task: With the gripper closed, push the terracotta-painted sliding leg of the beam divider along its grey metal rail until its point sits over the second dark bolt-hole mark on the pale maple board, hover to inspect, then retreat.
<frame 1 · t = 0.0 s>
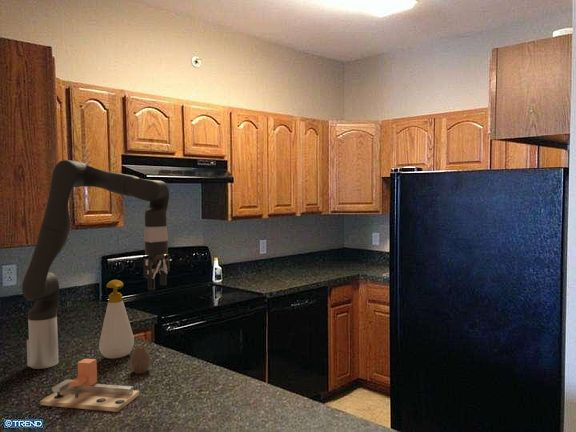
hand: (157, 287, 166), 29 cm above the worktop, fingers open, 8 cm apart
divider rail: (91, 390, 146), on the hole board, point 3 cm above the worktop
soap bottle: (117, 357, 184), on the worktop
hole board: (91, 399, 146), on the worktop
vase: (140, 372, 169), on the worktop
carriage: (82, 378, 147), point 6 cm above the worktop, slide at 6.0 cm
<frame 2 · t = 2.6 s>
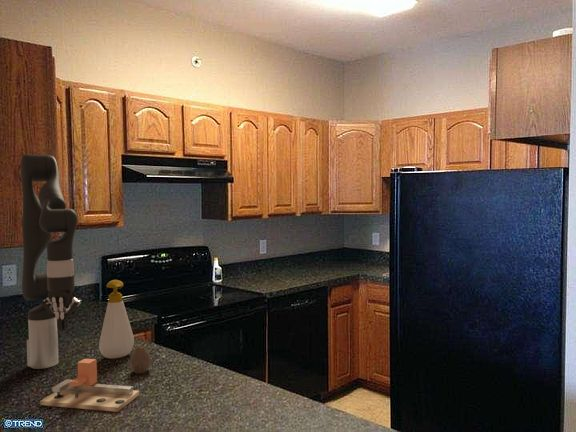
hand: (62, 330, 150), 19 cm above the worktop, fingers closed
nothing on the worktop moved.
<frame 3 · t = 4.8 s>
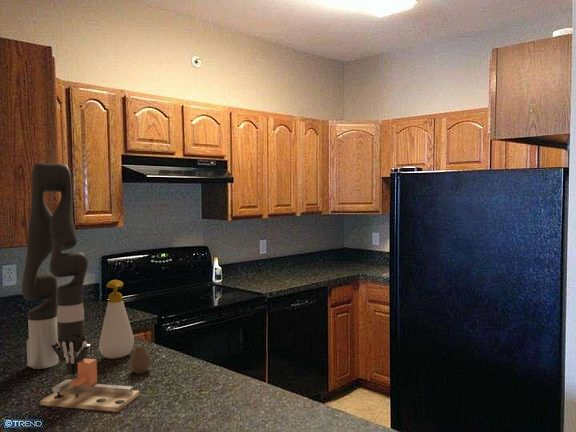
hand: (72, 374, 150), 6 cm above the worktop, fingers closed
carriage: (82, 378, 147), point 6 cm above the worktop, slide at 6.0 cm, touching gripper
everything else where it was.
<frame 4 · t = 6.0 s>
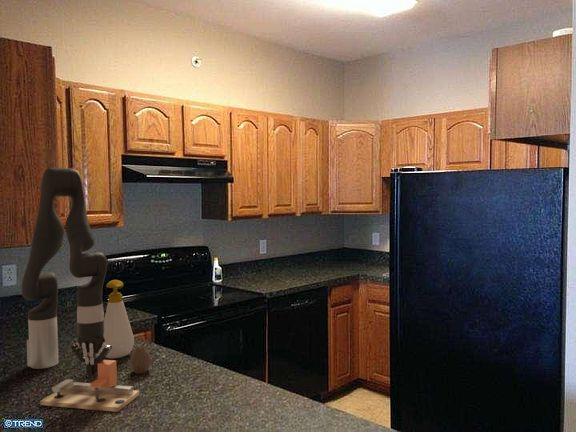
hand: (92, 375, 149), 6 cm above the worktop, fingers closed
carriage: (102, 379, 145), point 6 cm above the worktop, slide at 12.7 cm, touching gripper
everything else where it was.
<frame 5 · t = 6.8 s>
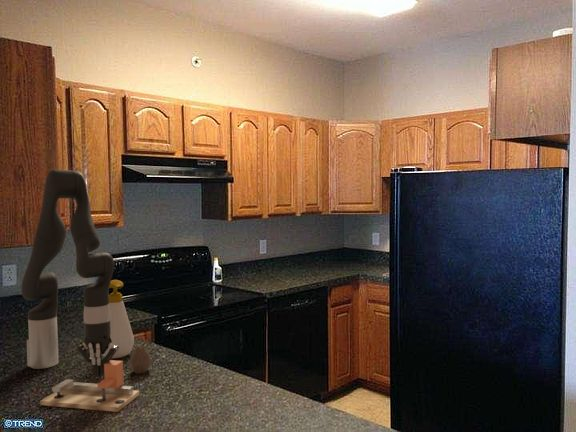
hand: (99, 376, 148), 6 cm above the worktop, fingers closed
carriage: (109, 380, 145), point 6 cm above the worktop, slide at 14.9 cm, touching gripper
everything else where it was.
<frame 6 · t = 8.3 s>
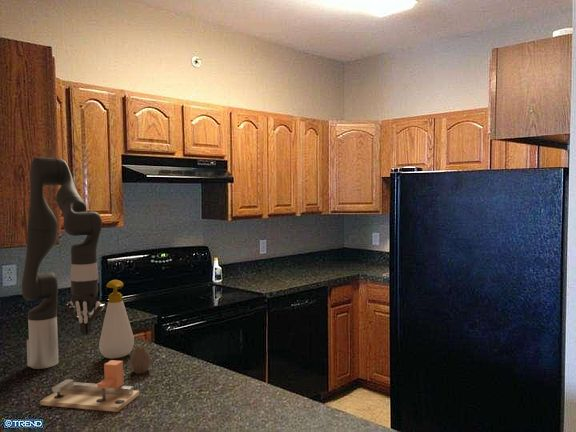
hand: (86, 334, 149), 19 cm above the worktop, fingers closed
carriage: (109, 380, 145), point 6 cm above the worktop, slide at 14.9 cm
everything else where it was.
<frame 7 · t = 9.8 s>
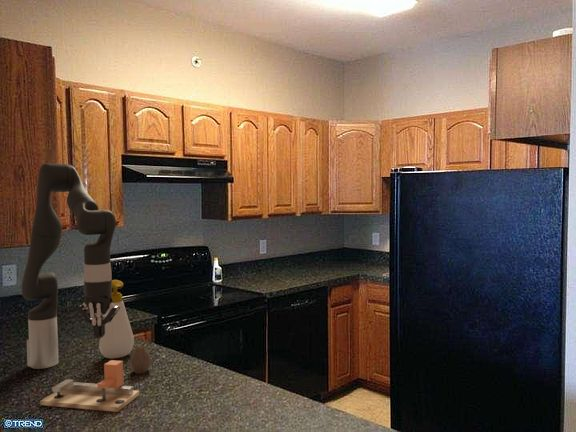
hand: (99, 337, 144), 19 cm above the worktop, fingers closed
nothing on the worktop moved.
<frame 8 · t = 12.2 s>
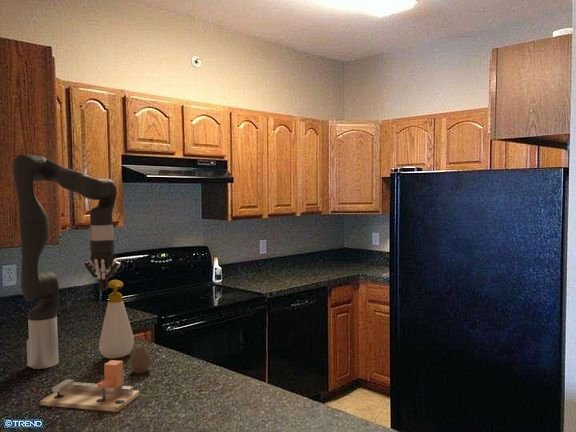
hand: (103, 289, 165), 29 cm above the worktop, fingers closed
nothing on the worktop moved.
at the end: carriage slide at 14.9 cm; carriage moved 8.9 cm from its start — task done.
